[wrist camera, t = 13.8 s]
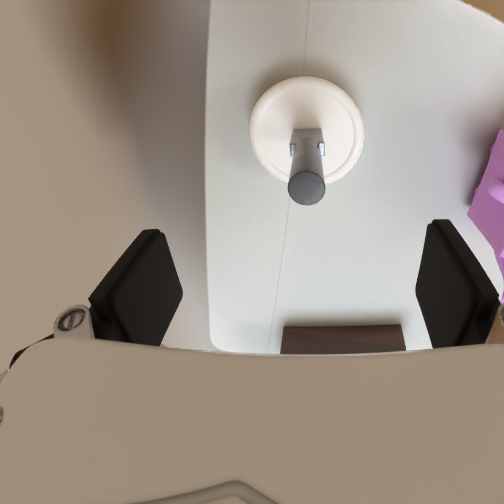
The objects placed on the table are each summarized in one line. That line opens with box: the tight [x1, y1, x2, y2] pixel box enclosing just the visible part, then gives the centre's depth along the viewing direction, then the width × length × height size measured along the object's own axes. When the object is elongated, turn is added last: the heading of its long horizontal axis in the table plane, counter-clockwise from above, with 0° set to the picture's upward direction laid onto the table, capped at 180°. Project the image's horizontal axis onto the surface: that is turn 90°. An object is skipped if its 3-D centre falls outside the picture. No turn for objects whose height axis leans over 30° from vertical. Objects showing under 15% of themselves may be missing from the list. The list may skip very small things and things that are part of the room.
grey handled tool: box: [288, 128, 325, 205], centre depth 19 cm, size 2×2×12 cm
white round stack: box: [249, 76, 365, 184], centre depth 26 cm, size 10×10×4 cm
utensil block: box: [280, 325, 406, 354], centre depth 41 cm, size 7×17×5 cm, turn 98°
